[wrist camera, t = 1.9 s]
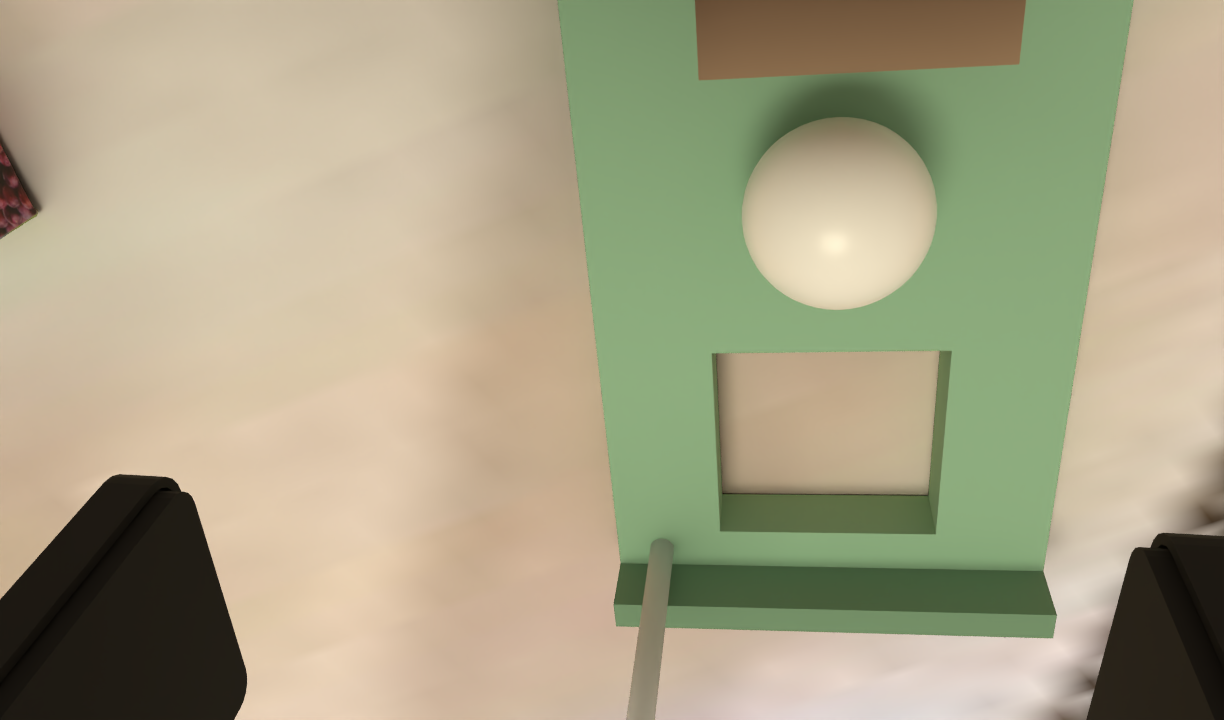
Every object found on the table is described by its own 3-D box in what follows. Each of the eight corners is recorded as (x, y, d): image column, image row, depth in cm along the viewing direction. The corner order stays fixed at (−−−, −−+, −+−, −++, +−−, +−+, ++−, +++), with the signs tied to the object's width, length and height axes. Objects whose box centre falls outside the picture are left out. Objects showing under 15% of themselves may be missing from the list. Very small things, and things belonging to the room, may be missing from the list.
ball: (741, 95, 28) (736, 163, 24) (930, 86, 27) (958, 154, 23) (745, 260, 31) (741, 346, 27) (919, 255, 30) (942, 344, 26)
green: (548, -222, 27) (371, -152, 15) (1149, -278, 24) (1500, -250, 13) (629, 546, 40) (569, 909, 28) (1027, 553, 37) (1145, 949, 26)
